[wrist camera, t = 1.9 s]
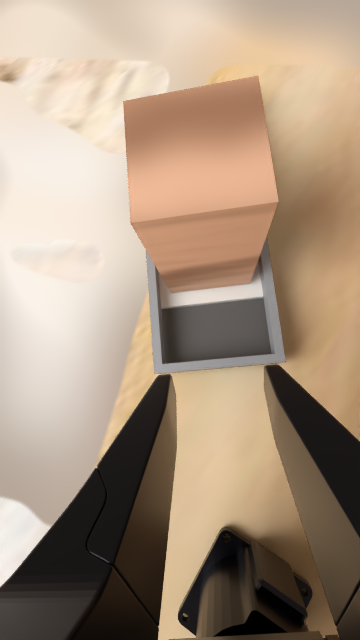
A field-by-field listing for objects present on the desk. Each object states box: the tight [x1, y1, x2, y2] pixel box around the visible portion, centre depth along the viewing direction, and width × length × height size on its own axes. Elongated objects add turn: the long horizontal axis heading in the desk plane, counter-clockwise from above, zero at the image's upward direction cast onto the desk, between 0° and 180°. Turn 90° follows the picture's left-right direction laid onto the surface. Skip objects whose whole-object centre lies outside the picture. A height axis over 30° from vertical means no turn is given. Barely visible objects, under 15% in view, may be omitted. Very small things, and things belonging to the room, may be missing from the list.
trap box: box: [146, 236, 286, 374], centre depth 24 cm, size 22×9×2 cm, turn 5°
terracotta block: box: [123, 76, 279, 293], centre depth 18 cm, size 6×6×11 cm
